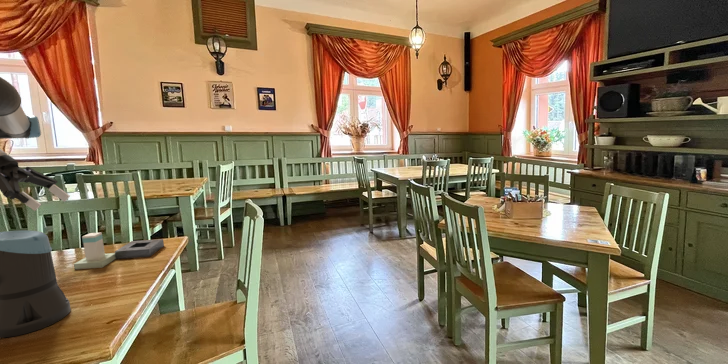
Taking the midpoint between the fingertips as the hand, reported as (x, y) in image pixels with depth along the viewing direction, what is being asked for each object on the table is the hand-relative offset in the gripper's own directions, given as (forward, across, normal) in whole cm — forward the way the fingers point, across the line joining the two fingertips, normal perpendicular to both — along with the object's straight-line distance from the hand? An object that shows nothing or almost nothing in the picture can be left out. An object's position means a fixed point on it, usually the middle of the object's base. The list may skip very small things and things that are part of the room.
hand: (53, 203), depth 121 cm
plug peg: (+24, +1, -8) cm, 26 cm away
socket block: (+32, -8, -1) cm, 33 cm away
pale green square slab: (+24, +1, -8) cm, 26 cm away
